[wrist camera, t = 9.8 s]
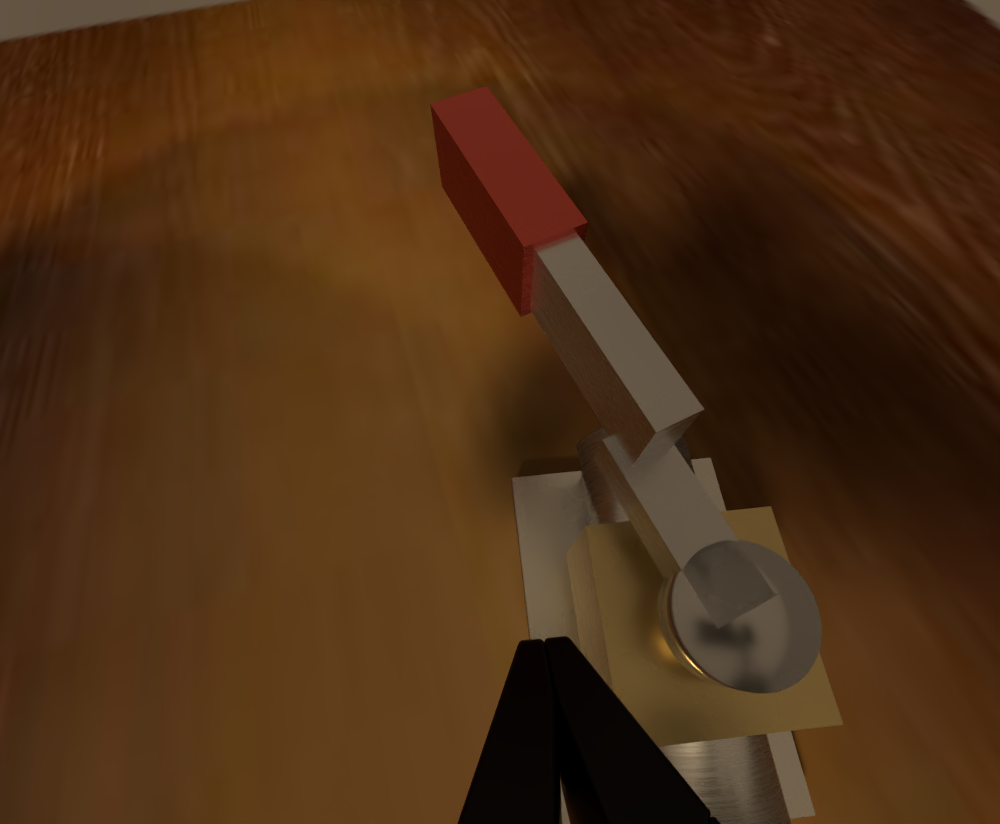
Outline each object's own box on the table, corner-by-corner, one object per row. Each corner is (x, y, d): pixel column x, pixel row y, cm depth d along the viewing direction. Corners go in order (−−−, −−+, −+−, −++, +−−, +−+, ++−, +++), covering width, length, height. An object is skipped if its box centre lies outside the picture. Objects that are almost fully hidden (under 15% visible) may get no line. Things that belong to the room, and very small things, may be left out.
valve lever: (706, 713, 12) (802, 748, 8) (428, 222, 18) (407, 111, 14) (814, 647, 12) (953, 651, 8) (507, 193, 19) (507, 79, 15)
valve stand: (797, 804, 18) (1020, 931, 10) (552, 835, 18) (587, 989, 10) (701, 466, 24) (799, 377, 16) (511, 485, 23) (514, 405, 15)
